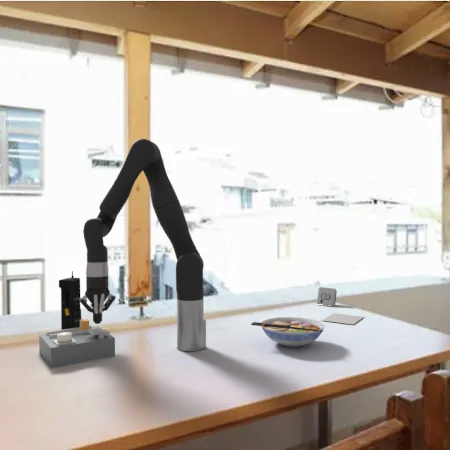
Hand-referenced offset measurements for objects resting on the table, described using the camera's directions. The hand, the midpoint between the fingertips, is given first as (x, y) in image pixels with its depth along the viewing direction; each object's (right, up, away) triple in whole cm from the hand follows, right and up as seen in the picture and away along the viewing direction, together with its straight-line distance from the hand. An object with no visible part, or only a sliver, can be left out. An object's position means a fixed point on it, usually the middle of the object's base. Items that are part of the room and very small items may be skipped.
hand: (97, 323), depth 154 cm
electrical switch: (+98, -7, +70) cm, 121 cm away
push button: (-6, -2, -16) cm, 17 cm away
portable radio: (-13, -8, +9) cm, 18 cm away
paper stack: (+100, -8, +33) cm, 105 cm away
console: (-4, -8, -9) cm, 13 cm away
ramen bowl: (+69, -8, +1) cm, 70 cm away
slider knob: (-4, -2, -3) cm, 5 cm away
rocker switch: (+3, -1, -10) cm, 11 cm away
